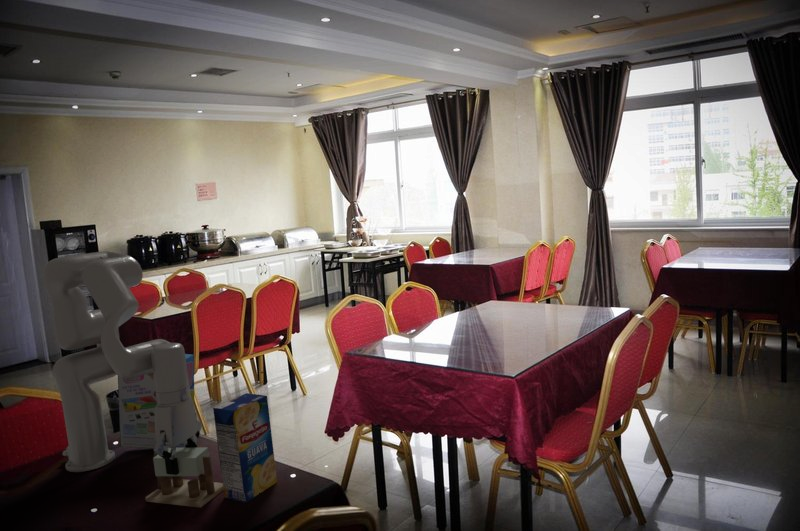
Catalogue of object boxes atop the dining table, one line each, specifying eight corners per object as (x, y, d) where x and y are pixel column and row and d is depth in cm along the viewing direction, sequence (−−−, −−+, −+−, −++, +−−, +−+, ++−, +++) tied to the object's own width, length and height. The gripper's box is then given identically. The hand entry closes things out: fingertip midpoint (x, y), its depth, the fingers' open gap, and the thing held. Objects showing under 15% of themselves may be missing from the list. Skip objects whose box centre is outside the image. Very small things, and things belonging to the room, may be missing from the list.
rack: (145, 501, 149) (139, 461, 147) (173, 482, 158) (168, 444, 157) (201, 507, 143) (195, 466, 142) (227, 487, 152) (222, 448, 151)
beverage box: (224, 497, 147) (212, 408, 144) (256, 477, 156) (246, 393, 154) (245, 502, 143) (233, 411, 141) (277, 481, 153) (267, 395, 150)
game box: (196, 444, 182) (195, 354, 179) (188, 452, 177) (187, 359, 173) (128, 439, 184) (126, 349, 181) (118, 446, 179) (116, 354, 175)
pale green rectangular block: (155, 476, 148) (153, 458, 147) (169, 465, 154) (166, 447, 153) (197, 476, 146) (195, 457, 145) (210, 464, 152) (207, 447, 151)
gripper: (184, 383, 157) (193, 451, 159) (134, 407, 141) (144, 482, 143) (209, 384, 154) (218, 453, 156) (160, 408, 138) (171, 485, 140)
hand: (183, 466), depth 150 cm, fingers closed on pale green rectangular block, 6 cm apart
